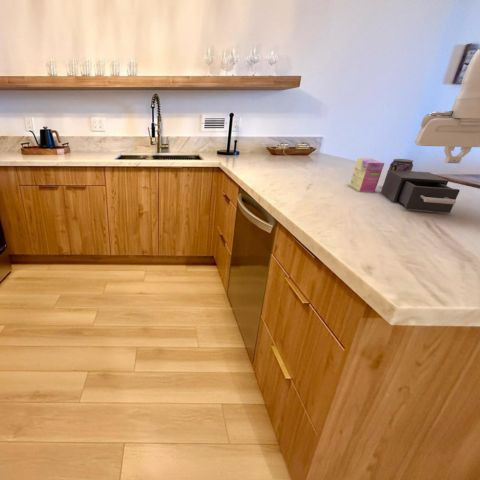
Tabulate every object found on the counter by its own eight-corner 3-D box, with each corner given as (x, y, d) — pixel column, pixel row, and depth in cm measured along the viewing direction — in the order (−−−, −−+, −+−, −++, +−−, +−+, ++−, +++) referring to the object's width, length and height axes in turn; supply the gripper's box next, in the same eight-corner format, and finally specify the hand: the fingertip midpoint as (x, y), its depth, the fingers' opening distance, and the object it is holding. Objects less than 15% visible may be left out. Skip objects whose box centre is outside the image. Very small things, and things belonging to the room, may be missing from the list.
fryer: (437, 207, 97) (448, 180, 93) (392, 203, 101) (401, 177, 97) (419, 196, 109) (428, 172, 105) (380, 193, 113) (388, 169, 109)
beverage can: (387, 191, 115) (397, 161, 110) (379, 187, 122) (388, 158, 117) (407, 192, 114) (418, 161, 109) (398, 188, 120) (408, 158, 115)
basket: (458, 218, 85) (469, 194, 82) (411, 213, 88) (420, 190, 85) (430, 201, 100) (438, 180, 97) (391, 197, 104) (398, 177, 101)
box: (375, 193, 113) (384, 162, 108) (359, 192, 114) (368, 162, 109) (363, 186, 122) (372, 158, 117) (349, 186, 123) (356, 158, 118)
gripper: (430, 111, 78) (412, 163, 84) (531, 110, 72) (504, 166, 78) (420, 111, 84) (404, 159, 90) (514, 110, 77) (490, 162, 83)
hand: (451, 163), depth 83 cm, fingers closed
